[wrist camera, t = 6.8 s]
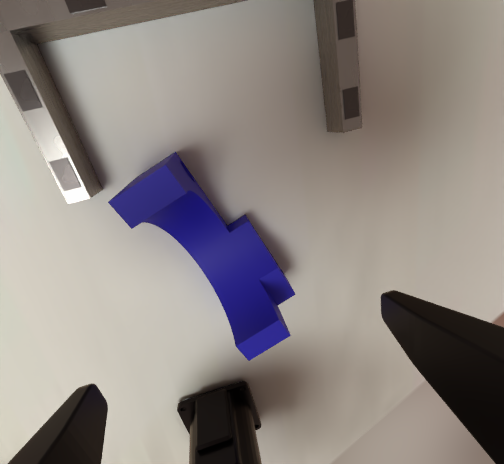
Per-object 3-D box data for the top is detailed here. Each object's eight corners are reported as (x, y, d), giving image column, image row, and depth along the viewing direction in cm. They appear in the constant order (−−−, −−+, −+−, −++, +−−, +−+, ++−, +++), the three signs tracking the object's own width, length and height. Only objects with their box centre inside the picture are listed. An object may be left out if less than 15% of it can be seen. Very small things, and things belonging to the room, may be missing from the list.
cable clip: (283, 273, 22) (311, 322, 16) (236, 302, 22) (248, 360, 17) (195, 138, 17) (194, 145, 12) (136, 177, 17) (108, 202, 12)
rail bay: (344, 127, 18) (362, 127, 16) (83, 194, 17) (67, 204, 15) (330, -45, 15) (351, -73, 13) (-2, 20, 13) (-39, 1, 11)
